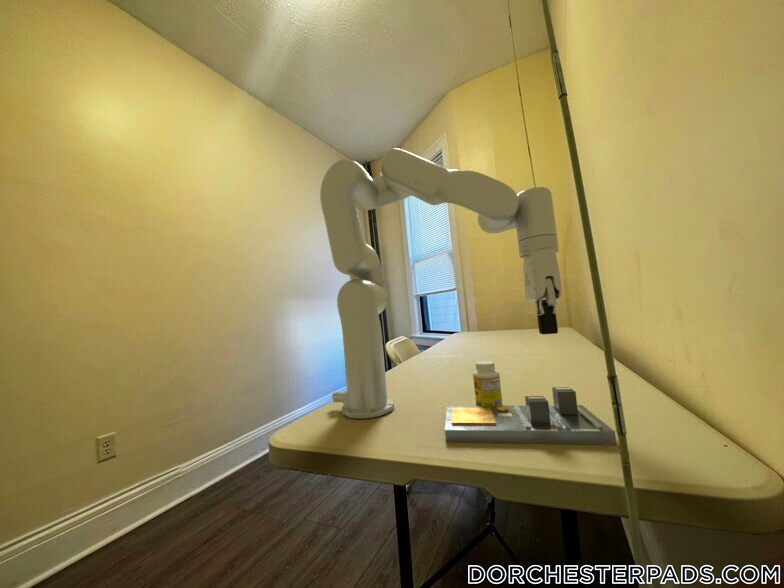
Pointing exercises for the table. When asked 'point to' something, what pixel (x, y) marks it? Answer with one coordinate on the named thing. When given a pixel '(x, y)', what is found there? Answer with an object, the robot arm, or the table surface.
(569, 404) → the block
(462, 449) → the table surface
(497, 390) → the supplement bottle
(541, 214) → the robot arm
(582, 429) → the panel
